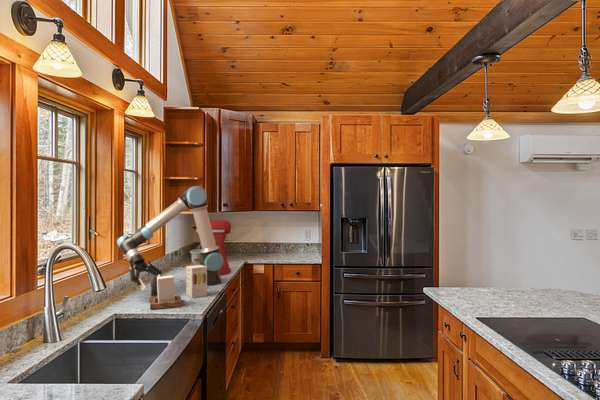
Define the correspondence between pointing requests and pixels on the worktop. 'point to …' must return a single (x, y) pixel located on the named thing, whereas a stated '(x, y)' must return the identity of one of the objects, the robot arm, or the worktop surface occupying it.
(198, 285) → the supplement box
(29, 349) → the worktop surface
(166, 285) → the skincare box
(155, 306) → the brown wooden frame
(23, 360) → the worktop surface
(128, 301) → the worktop surface
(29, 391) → the worktop surface
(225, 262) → the stand mixer
